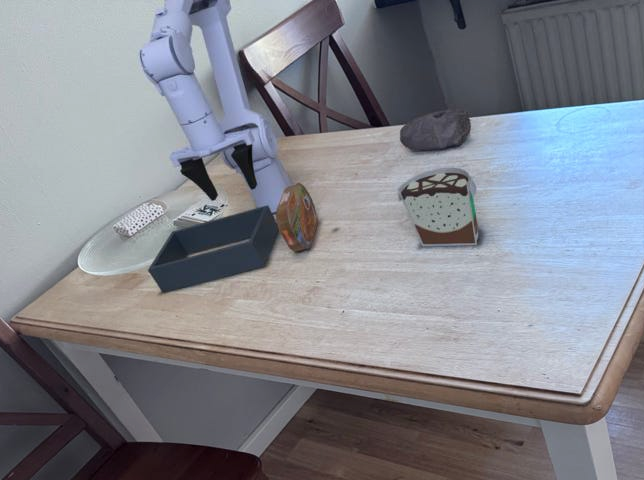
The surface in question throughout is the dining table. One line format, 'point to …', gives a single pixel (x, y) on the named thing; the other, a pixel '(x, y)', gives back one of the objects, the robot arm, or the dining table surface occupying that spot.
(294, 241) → the tin
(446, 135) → the perforated stone tool
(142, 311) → the dining table surface
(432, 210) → the food container
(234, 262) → the bin
